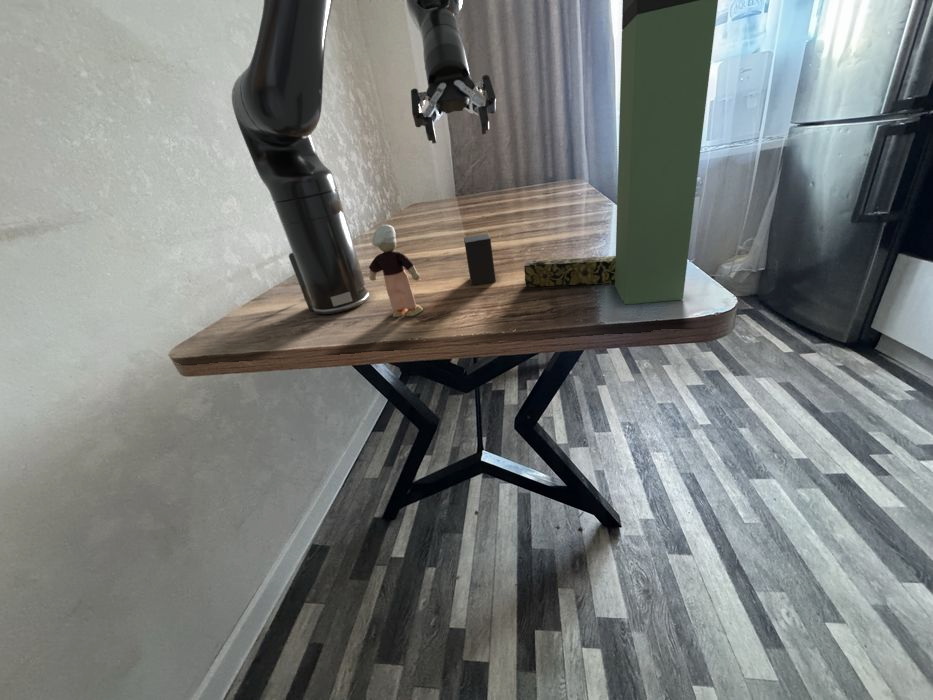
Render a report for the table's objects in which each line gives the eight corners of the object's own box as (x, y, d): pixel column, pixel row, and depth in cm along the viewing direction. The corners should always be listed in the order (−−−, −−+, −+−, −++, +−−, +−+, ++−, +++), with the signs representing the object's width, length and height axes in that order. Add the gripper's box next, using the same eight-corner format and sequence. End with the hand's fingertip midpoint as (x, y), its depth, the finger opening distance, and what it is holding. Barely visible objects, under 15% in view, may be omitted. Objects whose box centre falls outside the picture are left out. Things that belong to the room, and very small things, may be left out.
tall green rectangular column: (624, 304, 47) (639, -43, 32) (614, 286, 53) (623, -17, 38) (683, 299, 46) (726, -65, 31) (666, 281, 52) (696, -35, 37)
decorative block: (525, 287, 58) (523, 264, 56) (528, 281, 60) (526, 259, 58) (636, 283, 53) (637, 258, 51) (635, 277, 55) (636, 253, 53)
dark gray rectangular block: (471, 285, 62) (464, 242, 59) (470, 278, 66) (463, 237, 63) (495, 281, 62) (490, 238, 59) (493, 274, 66) (487, 233, 63)
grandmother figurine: (431, 305, 58) (412, 218, 52) (426, 315, 54) (405, 224, 48) (383, 310, 59) (359, 226, 53) (375, 321, 56) (349, 232, 50)
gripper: (401, 50, 65) (412, 124, 61) (484, 33, 65) (501, 107, 60) (411, 90, 73) (421, 159, 68) (485, 76, 72) (500, 144, 68)
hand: (458, 134), depth 64 cm, fingers open, 8 cm apart
